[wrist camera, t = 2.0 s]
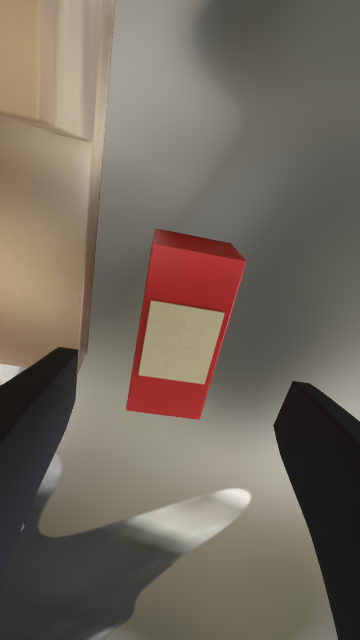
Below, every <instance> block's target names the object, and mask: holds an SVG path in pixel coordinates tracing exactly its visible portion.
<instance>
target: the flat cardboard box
mask: <svg viewBox="0 0 360 640" xmlns="http://www.w3.org/2000/svg"><path fill="white" fill-rule="evenodd" d="M114 13H115V0H0V364H7V365H14V366H21V367H30V366H31V365H33V364H34V363H36V362H37V361H39V360H40V359H42V358H43V357H44V356H46V355H47V354H49V353H50V352H52V351H53V350H55V349H56V348H58V347H65V348H71V349H78V350H79V352H78V367H77V374H78V372H79V370H80V367H81V365H82V363H83V361H84V358H85V356H86V354H87V348H88V335H89V323H90V310H91V297H92V286H93V273H94V261H95V247H96V236H97V223H98V211H99V199H100V187H101V174H102V162H103V149H104V136H105V125H106V112H107V99H108V87H109V75H110V62H111V50H112V37H113V25H114Z"/></svg>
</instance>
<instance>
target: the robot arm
mask: <svg viewBox="0 0 360 640" xmlns="http://www.w3.org/2000/svg"><path fill="white" fill-rule="evenodd" d="M78 352H79V350H78V349H71V348H65V347H58V348H56V349H55V350H53V351H52V352H50V353H49V354H47V355H46V356H44V357H43V358H42V359H40V360H39V361H37V362H36V363H34V364H33V365H31V366H30V367H29V368H27V369H26V370H24V371H23V372H21V373H20V374H18V375H17V376H15V377H14V378H12V379H11V380H9V381H7V382H6V383H4V384H3V385H1V386H0V589H1V586H2V583H3V581H4V578H5V575H6V572H7V569H8V566H9V563H10V560H11V558H12V555H13V552H14V549H15V546H16V544H17V541H18V538H19V535H20V533H21V531H22V529H23V527H24V521H25V519H26V516H27V513H28V511H29V509H30V506H31V504H32V502H33V499H34V497H35V495H36V493H37V490H38V488H39V486H40V484H41V482H42V480H43V478H44V475H45V473H46V471H47V469H48V467H49V465H50V463H51V460H52V458H53V456H54V454H55V452H56V450H57V447H58V445H59V443H60V441H61V439H62V437H63V434H64V432H65V430H66V427H67V424H68V421H69V418H70V415H71V412H72V409H73V406H74V403H75V397H76V382H77V367H78ZM274 430H275V435H276V440H277V443H278V448H279V452H280V455H281V458H282V460H283V463H284V466H285V468H286V471H287V474H288V476H289V479H290V482H291V484H292V487H293V489H294V492H295V494H296V497H297V500H298V502H299V505H300V507H301V510H302V513H303V515H304V518H305V520H306V523H307V526H308V528H309V532H310V534H311V538H312V541H313V544H314V548H315V551H316V555H317V558H318V562H319V565H320V569H321V572H322V576H323V580H324V583H325V587H326V591H327V595H328V599H329V603H330V607H331V610H332V614H333V619H334V623H335V627H336V632H337V636H338V640H360V421H358V420H357V419H356V418H355V417H353V416H352V415H351V414H350V413H348V412H347V411H346V410H345V409H343V408H342V407H341V406H339V405H338V404H337V403H336V402H334V401H333V400H332V399H331V398H329V397H328V396H327V395H325V394H324V393H323V392H321V391H320V390H319V389H317V388H316V387H314V386H313V385H311V384H309V383H302V382H296V381H293V382H292V384H291V387H290V389H289V391H288V393H287V396H286V398H285V400H284V403H283V405H282V407H281V409H280V412H279V414H278V416H277V419H276V421H275V423H274Z"/></svg>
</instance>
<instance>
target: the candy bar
mask: <svg viewBox="0 0 360 640" xmlns="http://www.w3.org/2000/svg"><path fill="white" fill-rule="evenodd" d="M245 265H246V260H245V259H244V258H243V257H242V256H241V254H240V253H239V252H238V251H237V250H236V249H235V248H234V247H233V245H232V244H231V243H226V242H221V241H216V240H211V239H206V238H201V237H196V236H191V235H185V234H180V233H175V232H171V231H165V230H160V229H155V234H154V238H153V243H152V249H151V256H150V262H149V268H148V274H147V281H146V287H145V293H144V300H143V306H142V312H141V318H140V325H139V331H138V338H137V343H136V350H135V356H134V363H133V369H132V375H131V381H130V388H129V394H128V400H127V407H126V410H127V411H135V412H143V413H151V414H159V415H167V416H175V417H183V418H191V419H200V417H201V414H202V410H203V407H204V403H205V400H206V397H207V393H208V390H209V387H210V383H211V380H212V376H213V373H214V369H215V366H216V363H217V359H218V356H219V353H220V349H221V346H222V343H223V339H224V336H225V332H226V329H227V326H228V322H229V319H230V315H231V312H232V309H233V305H234V302H235V299H236V295H237V292H238V288H239V285H240V282H241V278H242V275H243V272H244V268H245Z"/></svg>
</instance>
